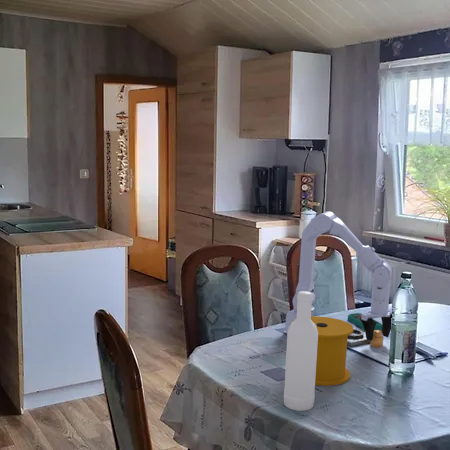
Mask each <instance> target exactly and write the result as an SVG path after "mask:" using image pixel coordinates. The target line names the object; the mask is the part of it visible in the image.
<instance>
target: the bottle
mask: <svg viewBox="0 0 450 450" xmlns="http://www.w3.org/2000/svg"><path fill="white" fill-rule="evenodd" d="M312 300H313V298H312V293H311V292H307V291H300V292H299V293H298V296H297V318H296V319H295V320H294V321H293V322H292V323H291V324H290V326H289V329H288V332H287V334H286V353H285V369H284V371H285V372H284V373H285V374H284V388H283V389H284V390H283V404H284V406H285V407H286V408H287V409H290V410H291V411H292V410H293V411H297V412H303V411H305V412H306V411H310V410H311V409H313V408H314V405H315V395H316V394H315V388H316V385H315V376H316V360H317V344H318V331H317V327H316V325H315V324H314V323H313V322H312V321H311V306H312Z"/></svg>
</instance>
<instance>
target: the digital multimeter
mask: <svg viewBox="0 0 450 450" xmlns="http://www.w3.org/2000/svg"><path fill="white" fill-rule="evenodd" d="M361 314H362V313H361V312H360V313H359V312H357V313H354V312H353V313H349V314H348V315H347V321H349V323H352V324H354V325H356V326H357V327H359V328H360V329H361V330H363V332H365V329H364V326H363V324H362V322H361ZM372 320H373V321H374V322H377V324H376V326H375V329H374V330H380V331H382V322H380V321H377V320H375V318H373V319H372Z"/></svg>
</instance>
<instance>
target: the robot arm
mask: <svg viewBox="0 0 450 450" xmlns="http://www.w3.org/2000/svg"><path fill="white" fill-rule="evenodd" d="M327 232H329V235H334V236H339V237H340V238H341V239H342V240H343V241H344V242H345V243H346V244H347V245H348V246H349V247H350V248H351V249H353V251H354V252H355V254H356V255H355V256H356V257H355V258H356V259H357V260H358V261H359V262H360V264H362V265H363V266H364V267H365V268H366V270H368V271H369V273H371V276H372V280H373V283H372V285H371V286H372V288H371V289H372V290H371V302H370V310H368V311H365V312H363V313H362V314H361V322H362V324H363V326H364V329H365V331H364V332H365V334H366V339H367V340H370V341H372V339H373V333H374V329H375V326H376V324H377V322H378V321H377V322H374V321H373V320H372V319H379V318H381V324H382V330H381V331H382V336H383V337H385V338H389V336H390V333H391V330H392V328H391V318H392V308H389V303H390V295H391V294H390V293H391V292H390V290H391V285H390V284H391V276H392V273H393V269H392V266H391V264H390V263H389V262H386V260H385V259H384V258H381V256H379V255H378V254H377V252H375V251H376V249H375V248H374V247H371V246H370V245H364V244H362V242H361V241H360V239H359V238H357V237H356V235H355V234H354V233H353V232H352V230H351V229H350V228H349V227H348V226H347V224H345V222H344V221H342V219H341V218H339V217H337V215H336V214H335V213H334V212H332V211H329V210H328V211H327V210H326V211H324V212H323V213H319V214H317V215H316V216H314V217H313V218H311V219H310V221H309V223H308V224H307V225H306V226H305V228H304V229H303V230H302V233H301V241H300V243H301V244H300V258H299V270H298V271H299V273H298V283H297V286H296V288H295V294H294V296H293V297H292V300H291V301H292V306H293V309H292V310H289V311H287V313H286V315H285V328H284V329H285V330H283V333H285V334H286V335H287V332H288V329H289V326H290V324H291V322H292V321H293V320H295V319H296V318H297V296H298V293H299V292H300V291H307V292H311V293H312V298H313V300H312V306H311V316H315V307H314V303H316V300H317V294H316V291H315V284H314V277H315V276H314V274H315V260H316V248H317V238H318V237H320V236H321V235H322V234H324V233H327Z"/></svg>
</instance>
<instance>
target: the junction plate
mask: <svg viewBox="0 0 450 450" xmlns="http://www.w3.org/2000/svg"><path fill="white" fill-rule="evenodd" d="M366 344H367V345H368V344H371V341H370V340H367V339H366V334H365V331H364V330H363V331H362V329H361V330H360V329H357V328H354V327H353V333H352V334H350V335H348V338H347V347H350V346H352V347H357V346H362V345H366Z"/></svg>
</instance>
